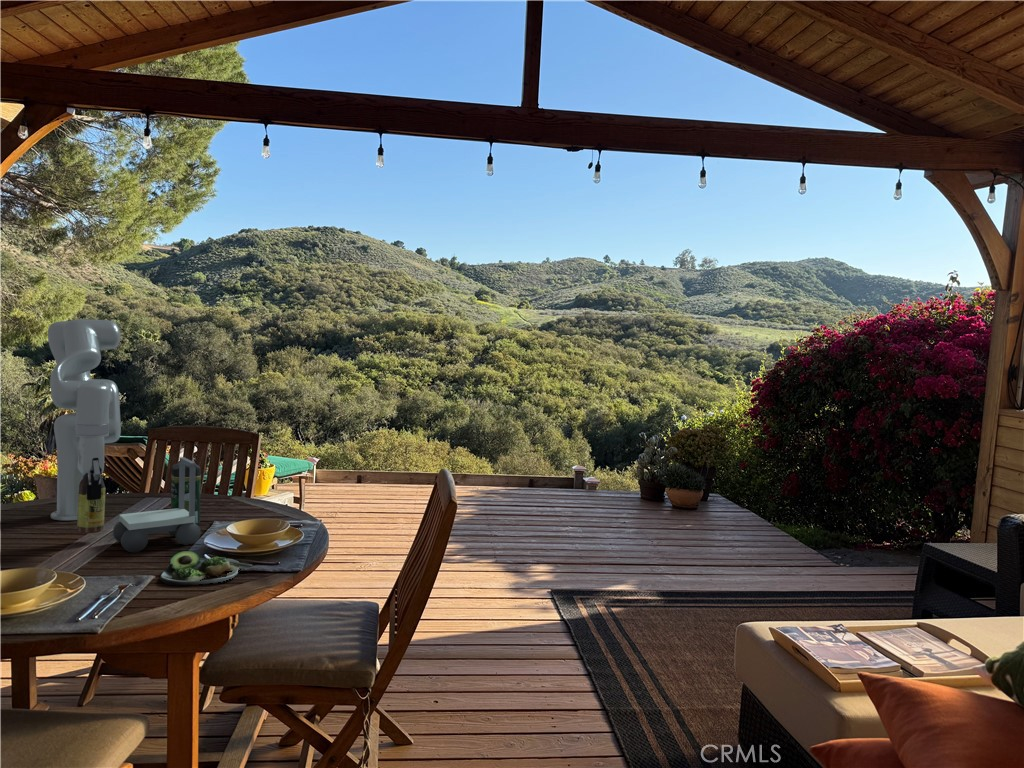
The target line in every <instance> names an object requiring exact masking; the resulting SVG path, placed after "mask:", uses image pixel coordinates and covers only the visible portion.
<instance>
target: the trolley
mask: <svg viewBox="0 0 1024 768" xmlns="http://www.w3.org/2000/svg"><path fill="white" fill-rule="evenodd" d="M178 462H179V508H176V509H171V508H167V509H166V508H165V509H158V510H149V511H140V512H139V511H137V512H131V513H130V512H129V513H122V514H119V517H118V518H119V519H118V522H117V523H116V524H115V525H114V527H113V530H112V535H113V538H114V539H115V540H116V541H117V542H118V543H120V545H121V546H122V548H123V549H124V550H125V551H127V552H128V553H134V554H135V553H139V552H141V551H142V550H144V549H145V548H146V547H147V545H148V543H149V537H148V535H153V534H160V533H161V534H162V533H168V534H169V535H170V536H172V537H175V539H176V540H177V542H178V543H179V544H182V545H183V546H189V545H188V544H191V545H193V544H194V543H197V542H198V540H199V539H200V537H201V533H202V531H201V527H200V526H199V525H198V524H195V523H194V522H195V474H196V462H194V461H193V460H190V459H189V458H186V457H185V456H180V457H179V461H178ZM185 465H187V466H189V467H190V475H189V512H188V511H187V510H185V509H184V500H185Z"/></svg>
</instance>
